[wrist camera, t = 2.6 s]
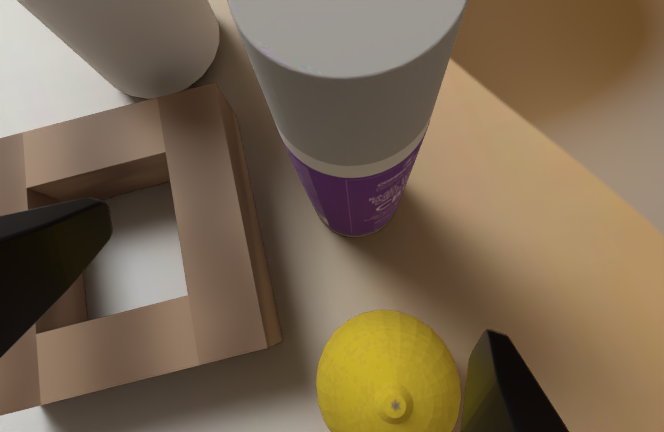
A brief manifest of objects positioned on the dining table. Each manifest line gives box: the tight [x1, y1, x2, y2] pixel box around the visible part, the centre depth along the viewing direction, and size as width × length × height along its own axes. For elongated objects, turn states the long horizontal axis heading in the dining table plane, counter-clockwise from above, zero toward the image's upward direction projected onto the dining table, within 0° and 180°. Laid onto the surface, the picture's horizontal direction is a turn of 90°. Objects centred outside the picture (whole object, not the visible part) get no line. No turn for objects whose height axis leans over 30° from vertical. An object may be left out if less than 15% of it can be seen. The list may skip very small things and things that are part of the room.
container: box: [227, 0, 468, 237], centre depth 14 cm, size 5×5×15 cm
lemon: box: [316, 310, 461, 432], centre depth 16 cm, size 6×6×8 cm
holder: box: [0, 83, 283, 415], centre depth 20 cm, size 13×13×4 cm
